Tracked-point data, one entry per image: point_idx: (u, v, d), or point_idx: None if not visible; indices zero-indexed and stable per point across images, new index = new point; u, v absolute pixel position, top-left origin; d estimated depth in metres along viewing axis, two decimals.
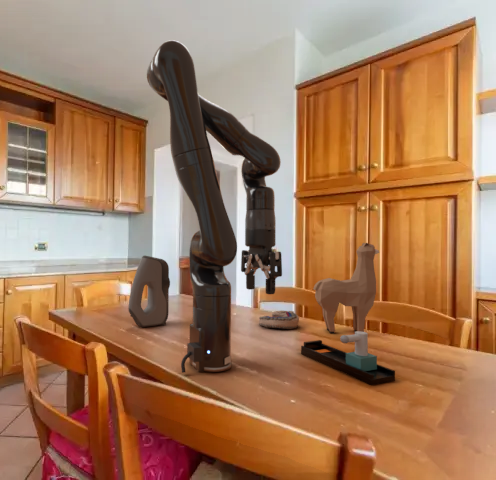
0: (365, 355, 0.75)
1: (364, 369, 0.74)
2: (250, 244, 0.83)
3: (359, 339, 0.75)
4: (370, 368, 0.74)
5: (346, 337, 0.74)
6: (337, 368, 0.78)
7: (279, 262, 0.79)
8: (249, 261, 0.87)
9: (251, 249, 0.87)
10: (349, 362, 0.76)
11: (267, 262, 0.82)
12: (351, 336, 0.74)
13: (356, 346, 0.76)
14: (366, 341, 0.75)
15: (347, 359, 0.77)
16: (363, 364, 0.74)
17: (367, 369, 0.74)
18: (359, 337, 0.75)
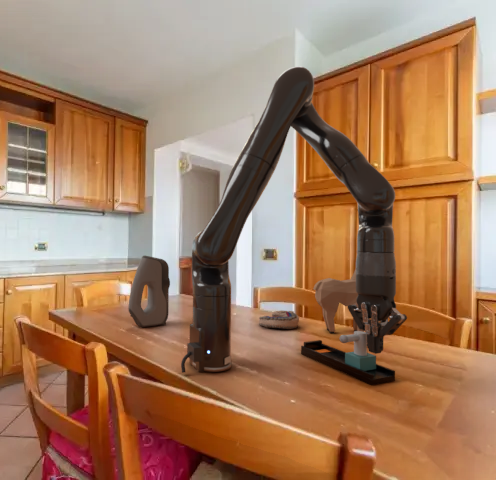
0: (364, 355, 0.75)
1: (363, 369, 0.74)
2: (367, 293, 0.71)
3: (358, 339, 0.75)
4: (369, 368, 0.75)
5: (345, 337, 0.74)
6: (337, 368, 0.78)
7: (398, 326, 0.68)
8: (365, 313, 0.73)
9: (362, 296, 0.75)
10: (348, 362, 0.76)
11: None
12: (350, 336, 0.75)
13: (355, 346, 0.76)
14: (366, 340, 0.75)
15: (346, 359, 0.77)
16: (362, 364, 0.74)
17: (366, 369, 0.74)
18: (358, 337, 0.75)
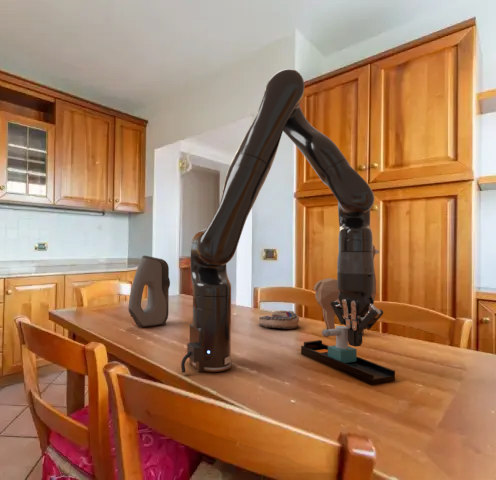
0: (345, 348, 0.80)
1: (344, 361, 0.79)
2: (347, 290, 0.75)
3: (340, 333, 0.80)
4: (350, 360, 0.79)
5: (327, 331, 0.79)
6: (337, 368, 0.78)
7: (375, 320, 0.73)
8: (345, 308, 0.78)
9: (343, 293, 0.79)
10: (331, 355, 0.81)
11: None
12: (332, 330, 0.79)
13: (337, 340, 0.81)
14: (347, 334, 0.80)
15: (329, 352, 0.82)
16: (343, 357, 0.79)
17: (347, 361, 0.79)
18: (340, 331, 0.80)
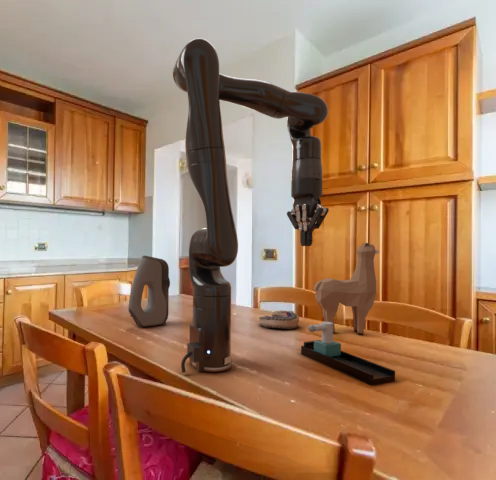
0: (330, 342, 0.84)
1: (329, 355, 0.83)
2: (298, 193, 0.84)
3: (325, 328, 0.84)
4: (334, 354, 0.84)
5: (313, 326, 0.83)
6: (337, 368, 0.78)
7: (322, 218, 0.82)
8: (298, 213, 0.86)
9: (297, 201, 0.88)
10: (316, 349, 0.85)
11: None
12: (318, 325, 0.84)
13: (322, 335, 0.85)
14: (331, 330, 0.84)
15: (315, 346, 0.86)
16: (328, 351, 0.83)
17: (332, 355, 0.83)
18: (325, 326, 0.84)
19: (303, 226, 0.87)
